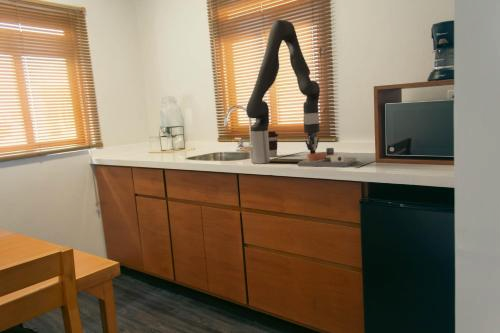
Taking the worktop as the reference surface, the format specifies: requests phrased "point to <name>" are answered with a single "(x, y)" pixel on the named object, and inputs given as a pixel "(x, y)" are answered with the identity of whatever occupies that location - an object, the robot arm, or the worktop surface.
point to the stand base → (330, 162)
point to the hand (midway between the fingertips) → (313, 158)
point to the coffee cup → (272, 143)
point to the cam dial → (321, 155)
